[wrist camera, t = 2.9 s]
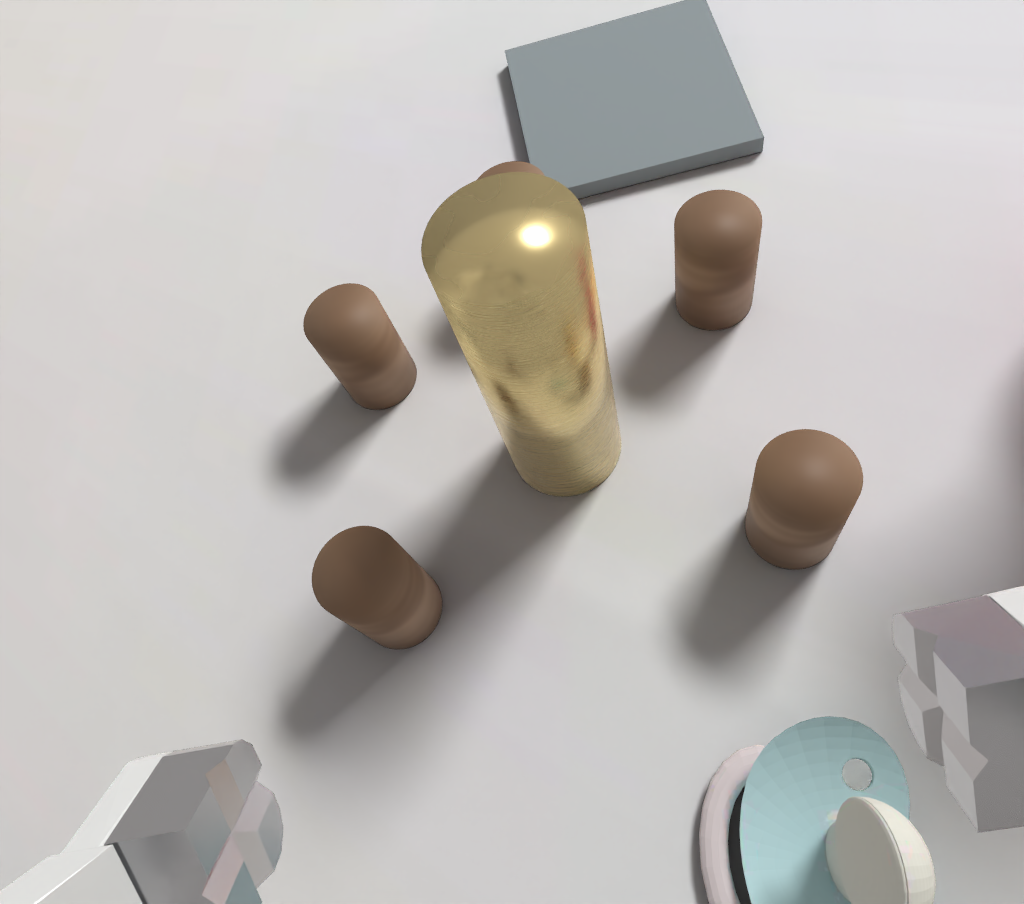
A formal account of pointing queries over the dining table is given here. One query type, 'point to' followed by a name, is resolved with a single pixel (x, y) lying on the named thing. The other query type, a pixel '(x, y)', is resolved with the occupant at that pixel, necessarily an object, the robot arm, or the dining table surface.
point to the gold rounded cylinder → (529, 324)
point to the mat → (632, 100)
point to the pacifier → (815, 822)
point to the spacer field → (701, 302)
